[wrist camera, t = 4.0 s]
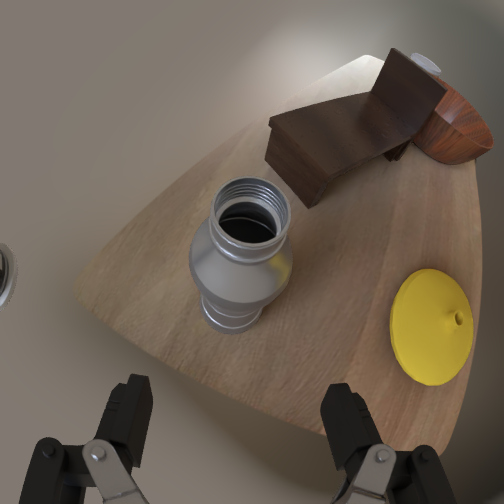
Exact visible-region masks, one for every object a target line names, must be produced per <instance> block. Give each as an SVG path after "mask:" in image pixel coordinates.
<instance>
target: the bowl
mask: <svg viewBox="0 0 504 504" xmlns="http://www.w3.org/2000/svg"><path fill="white" fill-rule="evenodd" d="M429 74H430V73H429ZM430 75H432V74H430ZM432 76H433V77H434V78H435V79H436V80H438V81H439V82H440V83H441V84H442V85H443V86H445V87H446V88H447V89H448V91H447V92H446V94H445V95H444V97H443V98H442V100H441V101H440V103H439V104H438V106H437V107H436V109H435V110H434V111H433V113H432V114H431V116H430V117H429V119H428V120H427V122H426V123H425V125H424V126H423V127H422V129H421V130H420V132H419V133H418V134H417V136H416V137H415V139H414V140H413V142H414V143H415V144H416V145H417V146H418V147H419V148H420V149H421V150H422V151H424V152H425V153H426V154H427V155H429V156H431V157H432V158H434V159H435V160H438V161H440V162H442V163H446V164H452V165H454V164H460V163H464V162H468V161H470V160H473V159H475V158H477V157H479V156H481V155H482V154H484V153H486V152H487V151H489V150H490V149H492V148H493V146H494V140H493V136H492V134H491V132H490V130H489V128H488V126H487V125H486V123H485V121H484V120H483V119H482V117H481V116H480V115H479V113H478V112H477V111H476V110H475V109H474V107H473V106H472V105H471V104H470V103H469V102H468V101H467V100H466V99H465V98H464V97H463V96H462V95H460V94H459V93H458V92H457V91H456V90H455V89H453V88H452V87H451V86H449V85H448V84H447V83H445V82H444V81H442V80H441V79H439V78H438V77H436V76H434V75H432Z"/></svg>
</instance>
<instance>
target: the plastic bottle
mask: <svg viewBox="0 0 504 504" xmlns="http://www.w3.org/2000/svg"><path fill="white" fill-rule="evenodd" d="M290 220H291V208H290V204H289V201H288V199H287V197H286V195H285V194H284V193H283V191H282V190H281V189H280V188H279V187H278V186H277V185H275V184H274V183H272V182H271V181H268V180H266V179H264V178H261V177H257V176H240V177H236V178H233V179H231V180H229V181H227V182H225V183H224V184H223V185H222V186H221V187H220V188H219V189H218V190H217V191H216V193H215V195H214V197H213V199H212V202H211V208H210V216H209V217H208V218H207V219H206V220H205V221H204V222H203V223H202V224H201V226H200V227H199V229H198V230H197V232H196V234H195V236H194V238H193V240H192V243H191V245H190V251H189V267H190V271H191V275H192V277H193V279H194V281H195V284H196V286H197V288H198V289H199V291H200V292H201V294H200V301H199V302H200V310H201V313H202V315H203V317H204V319H205V321H206V322H207V323H208V324H209V325H210V326H211V327H212V328H213V329H215V330H217V331H218V332H221V333H224V334H231V335H233V334H240V333H243V332H245V331H247V330H249V329H250V328H252V327H253V326H254V325H255V324H256V322H257V321H258V320H259V318H260V316H261V313H262V309H263V307H264V306H266V305H268V304H269V303H271V302H272V301H273V300H274V299H276V298H277V297H278V296H279V295H280V294H281V293H282V291H283V290H284V288H285V287H286V286H287V283H288V281H289V279H290V276H291V272H292V262H293V256H292V248H291V243H290V240H289V238H288V235H287V230H288V228H289V225H290Z"/></svg>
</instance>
